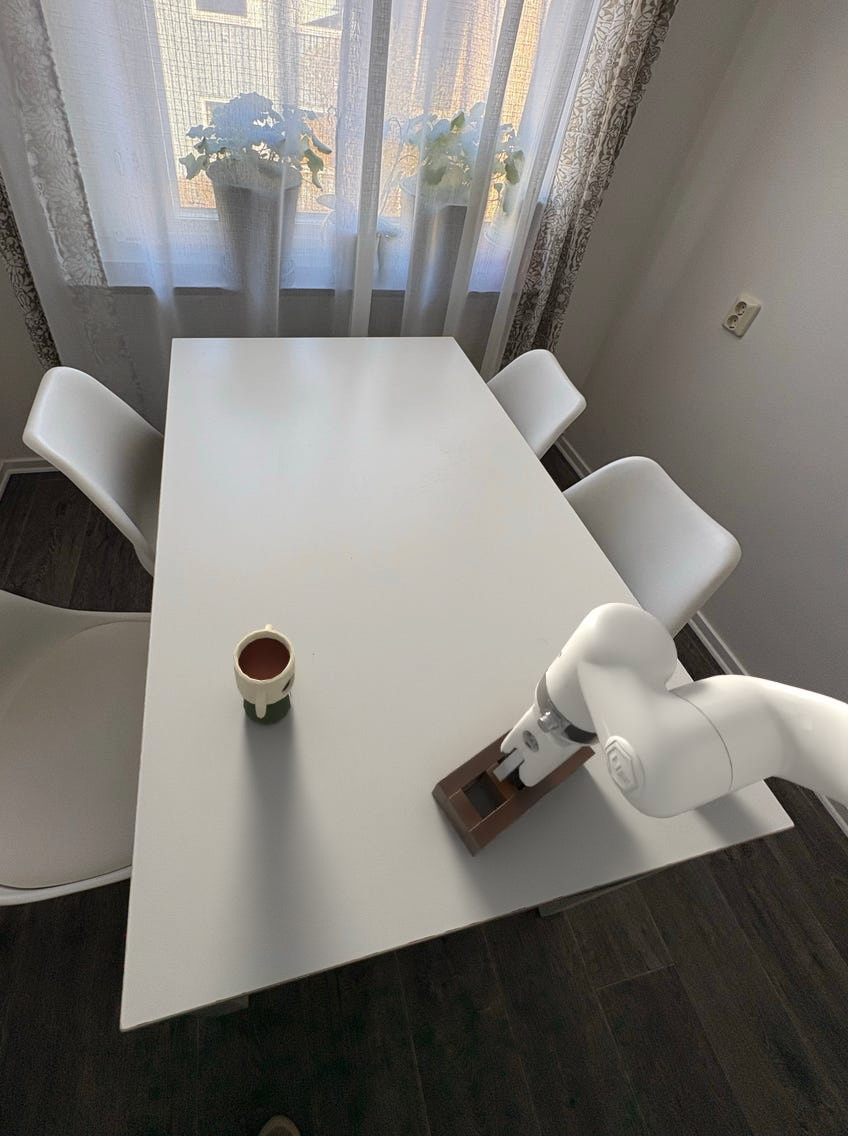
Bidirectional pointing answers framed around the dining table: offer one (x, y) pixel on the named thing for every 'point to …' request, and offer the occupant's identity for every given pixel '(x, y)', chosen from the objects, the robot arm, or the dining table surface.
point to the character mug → (265, 674)
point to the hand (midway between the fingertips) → (520, 764)
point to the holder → (495, 794)
